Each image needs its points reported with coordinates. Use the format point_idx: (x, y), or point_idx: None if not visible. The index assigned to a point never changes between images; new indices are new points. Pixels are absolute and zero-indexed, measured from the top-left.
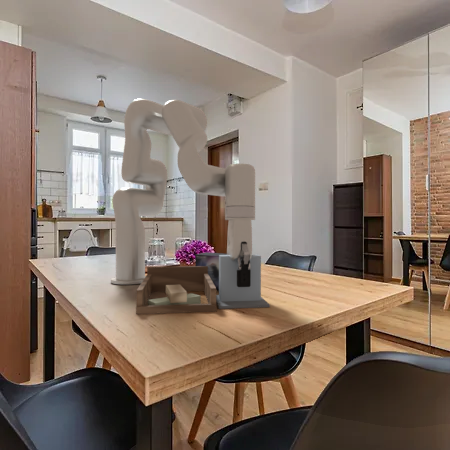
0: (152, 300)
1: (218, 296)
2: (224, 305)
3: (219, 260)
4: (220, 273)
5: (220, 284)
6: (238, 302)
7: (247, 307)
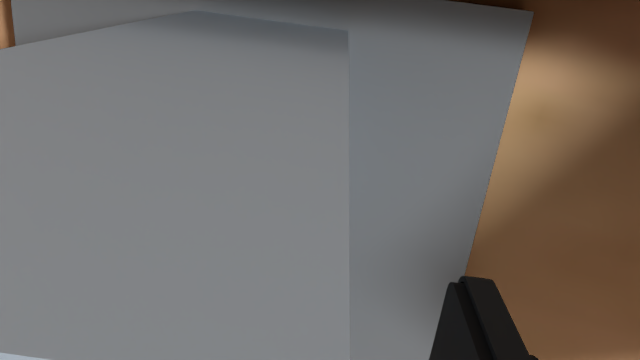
0: None
1: (439, 49)
2: (30, 9)
3: (110, 178)
4: (23, 48)
5: (126, 26)
6: None
7: None
